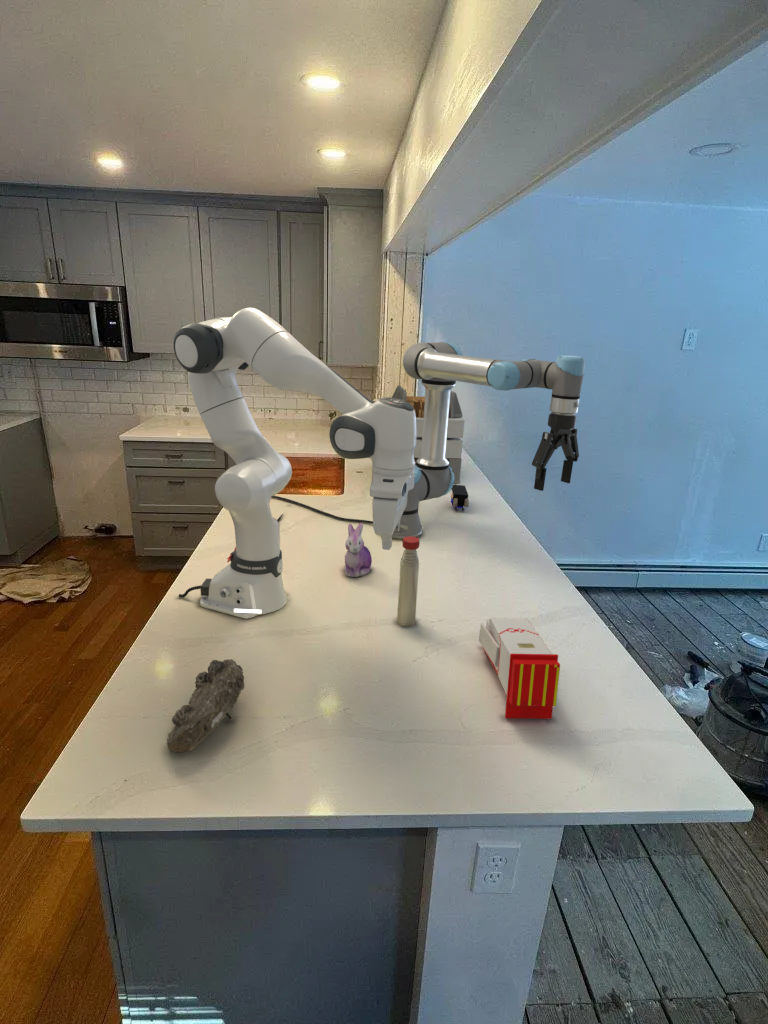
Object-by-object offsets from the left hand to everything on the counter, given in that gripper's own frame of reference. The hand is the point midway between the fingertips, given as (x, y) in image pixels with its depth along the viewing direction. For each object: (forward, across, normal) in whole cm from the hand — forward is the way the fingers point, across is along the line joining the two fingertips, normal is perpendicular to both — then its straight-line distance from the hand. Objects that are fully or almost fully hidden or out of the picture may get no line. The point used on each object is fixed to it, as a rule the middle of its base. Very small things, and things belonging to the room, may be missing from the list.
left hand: (390, 540), depth 122 cm
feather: (+27, -75, -54) cm, 97 cm away
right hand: (0, -54, +38) cm, 66 cm away
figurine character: (+28, -108, +9) cm, 112 cm away
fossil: (+28, +30, -28) cm, 50 cm away
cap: (+6, -14, +3) cm, 15 cm away
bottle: (+28, -14, +2) cm, 31 cm away
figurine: (+28, -39, -16) cm, 51 cm away
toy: (+28, +3, +28) cm, 40 cm away
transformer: (+28, -153, -13) cm, 156 cm away
